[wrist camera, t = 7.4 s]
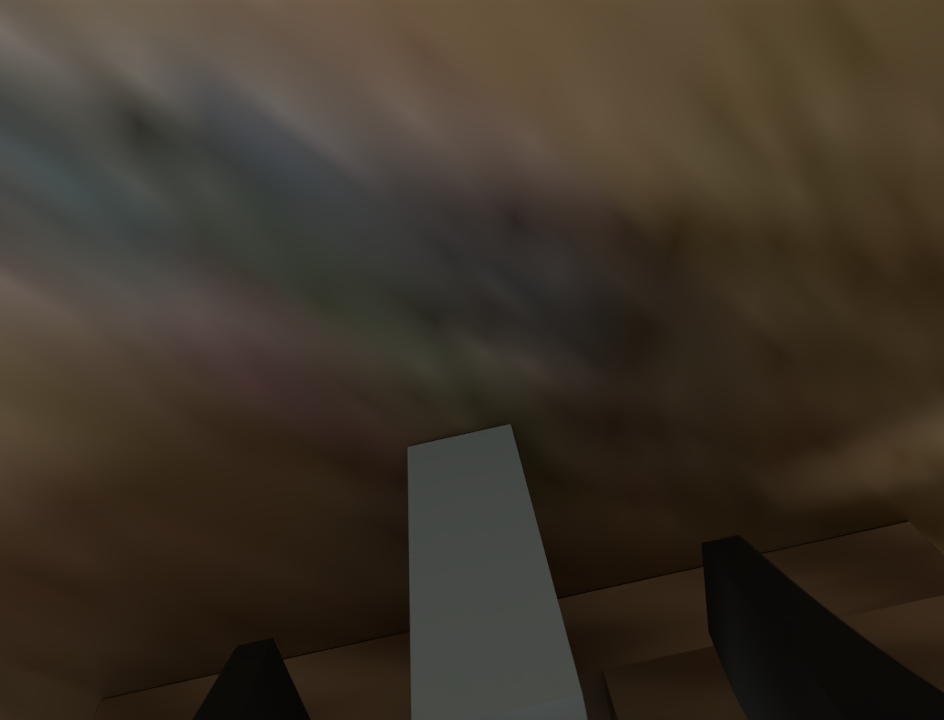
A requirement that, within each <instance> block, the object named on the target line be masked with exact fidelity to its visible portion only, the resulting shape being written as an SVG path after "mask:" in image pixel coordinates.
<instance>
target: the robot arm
mask: <svg viewBox="0 0 944 720" xmlns="http://www.w3.org/2000/svg"><path fill="white" fill-rule="evenodd" d="M702 556H703V568H704V581H705V594H706V607H707V620H708V632H709V635H710V637H711V640H712V642H713V645H714V647H715V650H716V652H717V654H718V657H719V659H720V662H721V664H722V667H723V669H724V671H725V674H726V676H727V679H728V681H729V683H730V686H731V688H732V690H733V693H734V695H735V696H736V698H737V700H738V702H739V704H740V706H741V708H742V710H743V711H744V713H745V715H746V717H747V719H748V720H944V692H943V691H941V690H940V689H938V688H937V687H935V686H934V685H932V684H931V683H929V682H928V681H926V680H925V679H923V678H922V677H920V676H919V675H917V674H916V673H914V672H913V671H911V670H910V669H908V668H907V667H906V666H904V665H903V664H901V663H900V662H898V661H897V660H896V659H894V658H893V657H891V656H890V655H888V654H887V653H886V652H884V651H883V650H881V649H880V648H878V647H877V646H876V645H874V644H873V643H872V642H870V641H869V640H868V639H866V638H865V637H864V636H862V635H861V634H859V633H858V632H857V631H855V630H854V629H853V628H852V627H850V626H849V625H848V624H846V623H845V622H844V621H843V620H841V619H840V618H839V617H837V616H836V615H835V614H833V613H832V612H831V611H830V610H828V609H827V608H826V607H824V606H823V605H822V604H821V603H819V602H818V601H817V600H816V599H814V598H813V597H812V596H811V595H809V594H808V593H807V592H806V591H804V590H803V589H802V588H801V587H800V586H798V585H797V584H796V583H795V582H794V581H792V580H791V579H790V578H789V577H788V576H786V575H785V574H784V573H783V572H782V571H781V570H779V569H778V568H777V567H776V566H775V565H774V564H772V563H771V562H770V561H769V560H768V559H767V558H765V557H764V556H763V555H762V554H761V553H760V552H759V551H757V550H756V549H755V548H754V547H753V546H752V545H751V544H750V543H748V542H747V541H746V540H745V539H743V538H742V537H740V536H739V535H737V536H732V537H728V538H723V539H719V540H714V541H710V542H705V543H702ZM192 720H310V717H309V715H308V713H307V711H306V709H305V707H304V704H303V702H302V700H301V698H300V696H299V694H298V691H297V689H296V687H295V685H294V683H293V681H292V678H291V676H290V674H289V672H288V670H287V668H286V665H285V663H284V661H283V659H282V657H281V655H280V652H279V650H278V648H277V646H276V644H275V642H274V639H273V638H271V639H267V640H262V641H257V642H253V643H248V644H244V645H239V646H237V647H236V648H235V650H234V651H233V653H232V654H231V656H230V658H229V659H228V661H227V662H226V664H225V666H224V667H223V669H222V671H221V672H220V674H219V676H218V677H217V679H216V681H215V682H214V684H213V686H212V687H211V689H210V691H209V692H208V694H207V696H206V697H205V699H204V700H203V702H202V704H201V705H200V707H199V709H198V710H197V712H196V714H195V715H194V717H193V719H192Z"/></svg>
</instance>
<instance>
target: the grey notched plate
mask: <svg viewBox="0 0 944 720" xmlns="http://www.w3.org/2000/svg"><path fill="white" fill-rule="evenodd" d="M407 450H408V519H409V588H410V657H411V720H588V719H587V714H586V709H585V704H584V699H583V694H582V691H581V687H580V683H579V679H578V675H577V672H576V668H575V664H574V660H573V657H572V653H571V649H570V645H569V642H568V638H567V634H566V630H565V627H564V623H563V619H562V615H561V611H560V608H559V604H558V600H557V596H556V593H555V589H554V585H553V581H552V578H551V574H550V570H549V566H548V563H547V559H546V555H545V551H544V548H543V544H542V540H541V536H540V532H539V529H538V525H537V521H536V517H535V514H534V510H533V506H532V502H531V499H530V495H529V491H528V487H527V484H526V480H525V476H524V472H523V469H522V465H521V461H520V457H519V453H518V450H517V446H516V442H515V438H514V435H513V431H512V427H511V424H508V425H503V426H499V427H494V428H490V429H485V430H481V431H476V432H472V433H467V434H463V435H459V436H454V437H450V438H445V439H441V440H436V441H432V442H427V443H423V444H418V445H414V446H409V447H407Z"/></svg>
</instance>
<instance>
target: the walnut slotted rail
mask: <svg viewBox="0 0 944 720" xmlns="http://www.w3.org/2000/svg"><path fill="white" fill-rule="evenodd" d="M762 555H763V556H764V557H765V558H767V559H768V560H769V561H770V562H771V563H772V564H774V565H775V566H776V567H777V568H778V569H779V570H781V571H782V572H783V573H784V574H785V575H786V576H788V577H789V578H790V579H791V580H792V581H794V582H795V583H796V584H797V585H798V586H800V587H801V588H802V589H803V590H804V591H806V592H807V593H808V594H809V595H811V596H812V597H813V598H814V599H816V600H817V601H818V602H819V603H821V604H822V605H823V606H824V607H826V608H827V609H828V610H830V611H831V612H832V613H833V614H835V615H836V616H837V617H839V618H840V619H841V620H843V621H844V622H845V623H846V624H848V625H849V626H850V627H852V628H853V629H854V630H855V631H857V632H858V633H859V634H861V635H862V636H864V637H865V638H866V639H868V640H869V641H870V642H872V643H873V644H874V645H876V646H877V647H878V648H880V649H881V650H883V651H884V652H886V653H887V654H888V655H890V656H891V657H893V658H894V659H896V660H897V661H898V662H900V663H901V664H903V665H904V666H906V667H907V668H908V669H910V670H911V671H913V672H914V673H916V674H917V675H919V676H920V677H922V678H923V679H925V680H926V681H928V682H929V683H931V684H932V685H934V686H935V687H937V688H938V689H940V690H941V691H943V692H944V555H943V554H942V553H941V552H940V551H939V550H938V549H937V548H936V547H935V546H934V545H933V544H932V543H931V542H930V541H929V540H928V539H927V538H926V537H925V536H924V535H923V534H922V533H921V532H920V531H919V530H918V529H917V528H916V527H915V526H914V525H913V524H912V523H911V522H910V521H909V522H905V523H900V524H896V525H891V526H886V527H882V528H877V529H873V530H868V531H864V532H859V533H855V534H850V535H846V536H841V537H837V538H832V539H828V540H823V541H819V542H814V543H809V544H805V545H800V546H796V547H791V548H787V549H782V550H778V551H773V552H769V553H764V554H762ZM557 600H558V604H559V608H560V611H561V615H562V619H563V623H564V627H565V630H566V634H567V638H568V642H569V645H570V649H571V653H572V657H573V660H574V664H575V668H576V672H577V675H578V679H579V683H580V687H581V691H582V694H583V699H584V704H585V709H586V714H587V719H588V720H748V719H747V717H746V715H745V713H744V711H743V710H742V708H741V706H740V704H739V702H738V700H737V698H736V696H735V695H734V693H733V690H732V688H731V686H730V683H729V681H728V679H727V676H726V674H725V671H724V669H723V667H722V664H721V662H720V659H719V657H718V654H717V652H716V650H715V647H714V645H713V642H712V640H711V637H710V635H709V632H708V620H707V607H706V594H705V581H704V568H703V567H701V568H696V569H692V570H687V571H683V572H678V573H674V574H669V575H665V576H660V577H656V578H651V579H646V580H642V581H637V582H633V583H628V584H624V585H619V586H615V587H610V588H606V589H601V590H597V591H592V592H588V593H583V594H579V595H574V596H569V597H565V598H560V599H557ZM283 661H284V663H285V665H286V668H287V670H288V672H289V674H290V676H291V678H292V681H293V683H294V685H295V687H296V689H297V691H298V694H299V696H300V698H301V700H302V702H303V704H304V707H305V709H306V711H307V713H308V715H309V717H310V720H411V657H410V632H406V633H402V634H397V635H393V636H388V637H384V638H379V639H375V640H370V641H366V642H361V643H357V644H352V645H348V646H343V647H339V648H334V649H329V650H325V651H320V652H316V653H311V654H307V655H302V656H298V657H293V658H289V659H284V660H283ZM218 676H219V674H216V675H212V676H207V677H203V678H198V679H194V680H189V681H185V682H180V683H176V684H171V685H166V686H162V687H157V688H153V689H148V690H144V691H139V692H135V693H130V694H126V695H121V696H117V697H112V698H108V699H103V700H101V702H100V704H99V707H98V709H97V711H96V714H95V716H94V718H93V720H192V719H193V717H194V715H195V714H196V712H197V710H198V709H199V707H200V705H201V704H202V702H203V700H204V699H205V697H206V696H207V694H208V692H209V691H210V689H211V687H212V686H213V684H214V682H215V681H216V679H217V677H218Z"/></svg>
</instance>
